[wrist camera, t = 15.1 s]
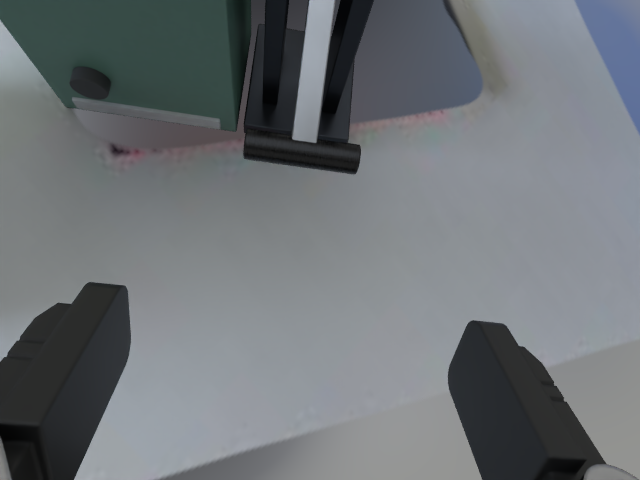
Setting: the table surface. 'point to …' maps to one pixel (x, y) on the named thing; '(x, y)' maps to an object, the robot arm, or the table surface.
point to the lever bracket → (284, 65)
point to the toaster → (139, 55)
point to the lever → (307, 109)
